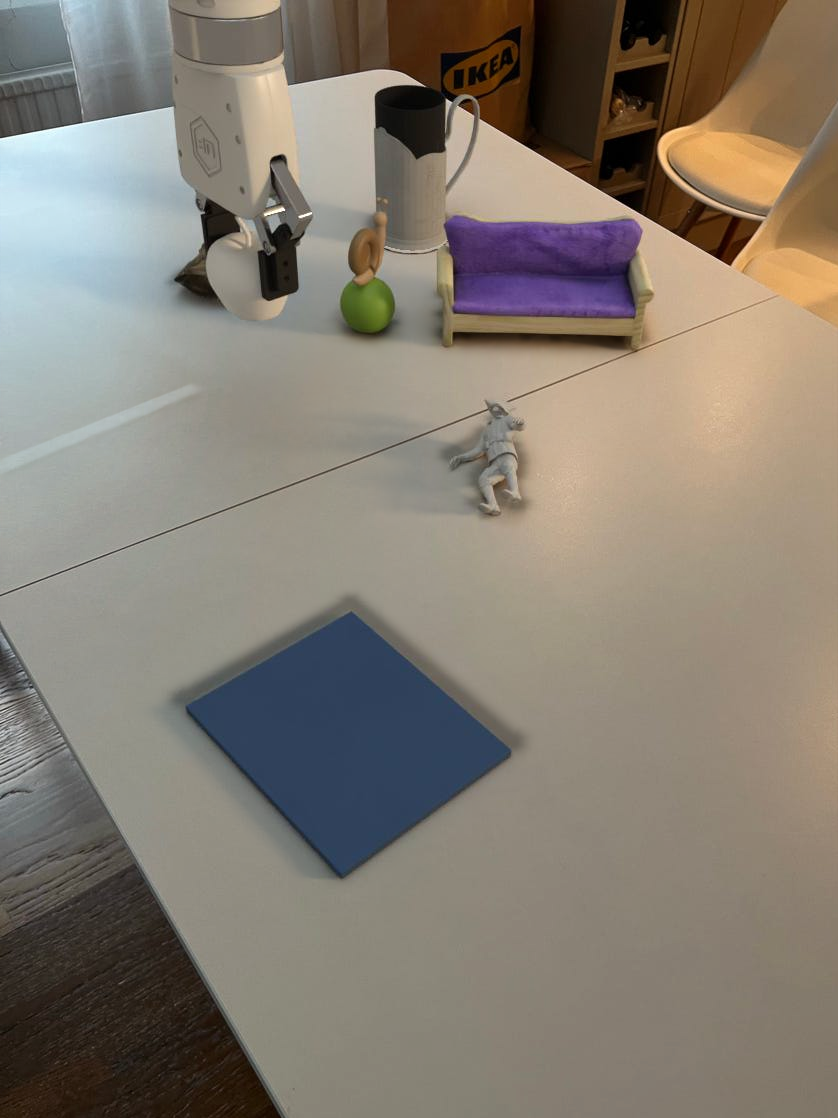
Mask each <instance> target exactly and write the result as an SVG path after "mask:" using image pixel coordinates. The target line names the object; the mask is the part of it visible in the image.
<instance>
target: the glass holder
mask: <svg viewBox="0 0 838 1118" xmlns="http://www.w3.org/2000/svg"><path fill="white" fill-rule="evenodd" d="M468 99H469V100H470V101H471V103H472V105H473V115H474V117H473V123H472V124H473V125H472V130H471V136H470V140H469V143H468V147H467V149H466V152H465V154H464V157H463V159H462V160H461V163H460V165H459V166H458V168H457V170H456V171H455V173H454V174H453V176H452V177H451V178H450V179H449V181H448V183H447V152H448V149H447V146H446V143H447V142H448V141H449V140H450V139H451V136H452V131H453V120H454V116H455V112H456V110H457V107H458V106H459V105H460V104H461V102H462V101H464V100H468ZM446 112H447V98H446V95H445V94H444V93H443V92H442V91H440V90H438V89H435V88H432V87H429V86H424V85H418V84H399V85H391V86H387V87H384V88H381V89H380V90H378V91H376V92H375V94H374V123H375V125H374V126H375V127H374V128H373V145H374V146H373V149H374V181H375V183H374V184H375V185H374V186H375V200H376V199H377V198H378V197H379V198H381V200H383V199H386V200H387V201H388V203H387V205H386V216H387V222H386V226H385V232H386V237H385V246H388V247H391V248H395V249H400V250H410V251H415V250H425V249H430V248H433V247H436V246H438V245H440V244H442V243H443V242H444V241H445V240H446V239H447V236H446V232H445V229H444V223H445V222H446V202H447V201H446V199H447V196H448V194H449V192H451V190H452V189H453V188H454V186H455V184H456V183H457V182H458V180H459V179H460V177H461V175H462V174H463V173H464V171H465V170H466V168H467V166H468V164H469V163H470V160H471V158H472V155H473V153H474V150H475V146H476V144H477V143H476V142H477V141H478V135H479V129H480V118H481V112H480V105H479V102H478V100H477V99H476V98H475V97H474V96H473V95H470V94H465V93H463V94H460V95H458V96H457V97H456V98H454V100H453V101H452V102H451V104H450V106H449V108H448V112H447V113H446ZM446 115H447V116H446ZM379 206H380V211H383V212H385V205H383V204H382V201H381V203H379V204H378V203H377V202H376V201H375V213H376V212H378V211H379Z"/></svg>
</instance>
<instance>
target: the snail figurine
mask: <svg viewBox="0 0 838 1118" xmlns="http://www.w3.org/2000/svg"><path fill="white" fill-rule="evenodd" d="M381 201H382V204H383V205H385V212H383V211H380V206H379V211H378V212H376V211H375V213H374V215H373V217H372V218H373V224H374V225H373V229H372V228H369V227H363V228H361V229H359V230H358V231H356V232H355V234H354V236H353V237H352V239H351V241H350V243H349V247H348V252H347V262H348V263H347V264H348V267H349V269H350V271H351V272H352V273H353V274H354V277H352V280H350V281H349V282H348V283H347V284H346V285H345V287H344V288H343V289H342V292H341V295H340V298H339V299H340V301H339V307H340V312H341V315H342V318H343V319H344V321H345V322H346V323H347V324H348V326H350V327H351V328H352V329H354V330H355V331H357V332H359V333H364V334H374V333H377V332H380V331H381V330H383V329H385V328H386V327H388V325H389V324H390V322H391V321H392V319H393V317H394V315H395V310H396V301H395V300H396V299H395V296H394V293H393V291H392V289H391V288H390V286H389V285H388V284H387V283H386V282H385V281H384V280H382V279H381V278H379V277H377V276H376V274H377V272H378V271H379V269H380V267H381V265H382V262H383V257H384V254H385V253H384V252H385V249H384V247H385V237H386V232H385V226H386V222H387V216H386V205H387V203H388V201H387V200H386V199H383V200H381V198H379V197H378V198H377V199H376V198H375V203H376V202H377V203H378V204H379V203H381Z"/></svg>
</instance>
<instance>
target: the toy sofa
mask: <svg viewBox="0 0 838 1118" xmlns="http://www.w3.org/2000/svg"><path fill="white" fill-rule="evenodd" d="M444 229H445V232H446V236H447V240H448V242H447V244H448V245H445V246H444V245H443V246H441V247H440V248H439V249H438V250H436V291H437V293H438V295H439V296H440V297H441V298H442V345H443V346H445V347H450V346H452V345H453V333H459V332H460V333H461V332H462V333H499V334H500V333H501V334H502V333H503V334H504V333H506V334H546V335H547V334H548V335H587V336H588V335H589V336H591V335H594V336H617V337H619V336H622V337H624V336H625V337H627V339H628V343H629V346H630V349H632V350H639V349H640V347H641V340H642V335H643V334H642V333H643V326H644V320H645V313H646V307H647V304H649V303H650V302H652V301H653V300H654V298H655V291H654V287H653V283H652V281H651V276H650V275H649V270H648V267H647V265H646V261H645V258H644V255H643V252H642V251H641V250H640V249H638V247H639V245H640V243H641V240H642V235H643V233H644V231H643V228H642V226H641V225H640V224H639V222H638V220H637V218H636V217H635V216H633V215H630V214H629V215H628V214H627V215H625V214H624V215H620V216H615V217H611V218H606V219H593V220H591V219H590V220H586V219H585V220H533V219H531V220H530V219H528V220H523V219H521V220H520V219H517V220H515V219H513V220H510V219H509V220H507V219H506V220H501V219H487V218H485V217H484V218H483V217H480V216H477V215H475V214H471V213H469V212H466V211H455V212H453V213H452V214H451V216H450V218H449V219H448V220H447V221H445V223H444Z"/></svg>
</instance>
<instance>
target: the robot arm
mask: <svg viewBox="0 0 838 1118" xmlns="http://www.w3.org/2000/svg"><path fill="white" fill-rule="evenodd" d="M167 5H168V13H169V21H170V26H171V27H170V28H171V35H172V43H173V46H172V62H171V84H172V89H171V90H172V104H173V118H174V120H173V121H174V130H175V140H176V141H175V142H176V150H177V158H178V166H179V171H180V175H181V177H182V179H183V181H184V182H185V183H186V184H187V185H188V186H189V187H191V188H192V189H194V191H195V200H194V201H195V206H196V208H197V210H198V212H200V221H201V229H202V238H203V243H204V245H205V253H206V259H207V254H208V251H209V248H210V247H211V245H212V244H213V243H214V242H216V241H217V240H218V239H220V238H223V237H224V236H226V235H228V234H231V233H238V232H242V230H241V227H240V226H239V224H238V222H237V220H236V219H235V216H238V217H240V218H241V220H244V221H252V222H253V224H254V227H255V231H257V233H258V236H259V239H260V242H261V245H262V248H263V250H260V251H258V262H259V272H260V283H261V293H262V297H263V298H264V299H265V300H267V301H272V300H275V299H278V298H281V297H283V296H286V295H288V296H289V295H292V294H295V293H297V292H298V291H299V288H300V285H299V270H298V257H297V255H298V253H297V247H299V246H300V245H301V239H302V238H303V237H304V236H305V234H306V230H307V229H308V227H309V226H310V224H311V222H312V220H313V215H314V214H313V211H312V209H311V207H310V206H309V204H308V202H307V199H306V198H305V196H304V194H303V193H302V191H301V189H300V166H299V155H298V154H299V153H298V147H297V137H296V128H295V121H294V120H295V119H294V113H293V107H292V101H291V100H292V99H291V94H290V89H289V84H288V79H287V75H286V70H285V65H284V64H283V62H284V60H285V51H284V33H283V19H282V5H281V0H167ZM269 199H271V200H273V201H274V202H275V204H273V205H270V206H268V202H269ZM275 215H277V216H278V219H279V223H280V224H278V225H277V227H276V228H275V229H274V231H272V229H271V226H270V223H269V220H268V217H271V216H275Z"/></svg>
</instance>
